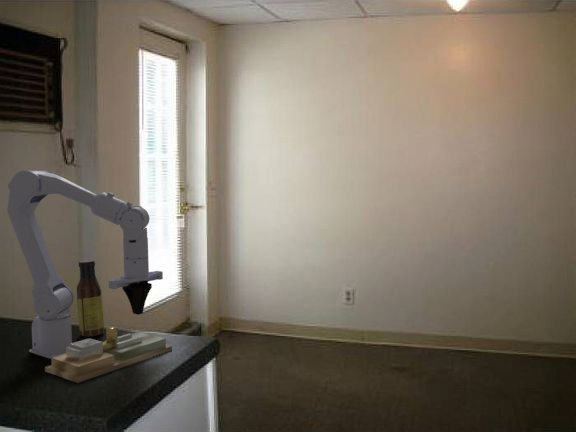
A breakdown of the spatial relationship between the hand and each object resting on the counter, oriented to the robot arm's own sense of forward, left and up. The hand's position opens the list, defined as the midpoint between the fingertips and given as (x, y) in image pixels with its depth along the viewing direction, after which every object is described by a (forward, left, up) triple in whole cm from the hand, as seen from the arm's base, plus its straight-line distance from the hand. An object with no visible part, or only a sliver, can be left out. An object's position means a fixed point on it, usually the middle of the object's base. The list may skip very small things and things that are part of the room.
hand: (137, 313), depth 140 cm
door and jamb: (0, -8, -9) cm, 12 cm away
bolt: (0, -11, -6) cm, 12 cm away
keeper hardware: (0, -9, -6) cm, 11 cm away
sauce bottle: (-22, +2, -10) cm, 24 cm away
